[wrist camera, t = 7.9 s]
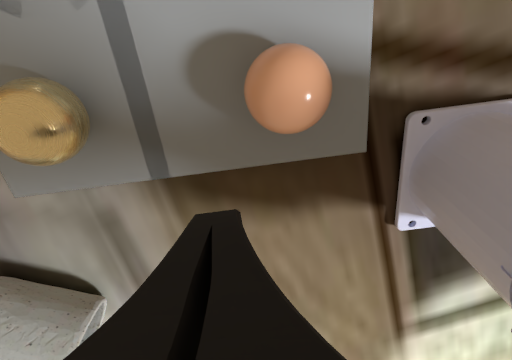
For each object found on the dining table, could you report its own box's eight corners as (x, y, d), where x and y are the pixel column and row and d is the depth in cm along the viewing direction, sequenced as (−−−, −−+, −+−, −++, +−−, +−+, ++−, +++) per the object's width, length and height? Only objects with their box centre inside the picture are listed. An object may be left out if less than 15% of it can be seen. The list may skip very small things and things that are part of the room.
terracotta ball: (319, 34, 14) (344, 41, 11) (321, 114, 15) (343, 140, 12) (237, 45, 14) (238, 55, 11) (248, 123, 15) (251, 152, 12)
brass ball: (86, 65, 14) (42, 80, 11) (112, 141, 15) (82, 174, 12) (4, 75, 14) (-63, 94, 11) (39, 151, 15) (-10, 187, 12)
